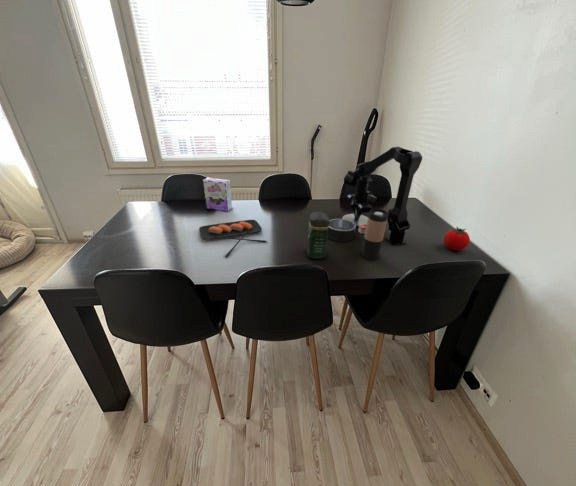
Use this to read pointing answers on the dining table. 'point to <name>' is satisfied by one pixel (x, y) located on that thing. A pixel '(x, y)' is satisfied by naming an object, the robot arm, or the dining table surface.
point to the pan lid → (357, 222)
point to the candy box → (217, 194)
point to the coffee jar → (317, 235)
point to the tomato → (456, 239)
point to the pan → (341, 230)
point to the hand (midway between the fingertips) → (356, 218)
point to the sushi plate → (230, 230)
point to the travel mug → (374, 233)
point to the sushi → (362, 229)
